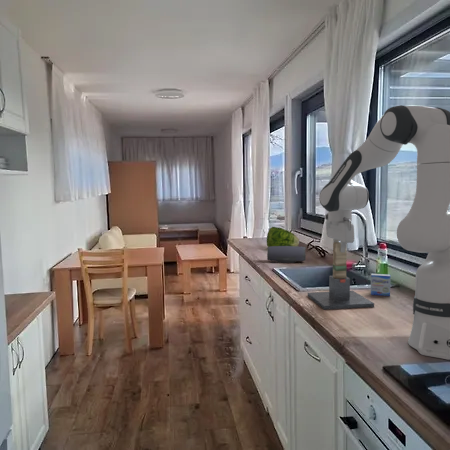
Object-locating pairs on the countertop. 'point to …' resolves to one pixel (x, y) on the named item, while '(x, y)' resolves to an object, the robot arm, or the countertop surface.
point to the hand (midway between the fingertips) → (339, 251)
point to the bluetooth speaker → (286, 254)
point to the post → (339, 261)
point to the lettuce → (281, 237)
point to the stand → (339, 296)
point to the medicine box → (380, 284)
